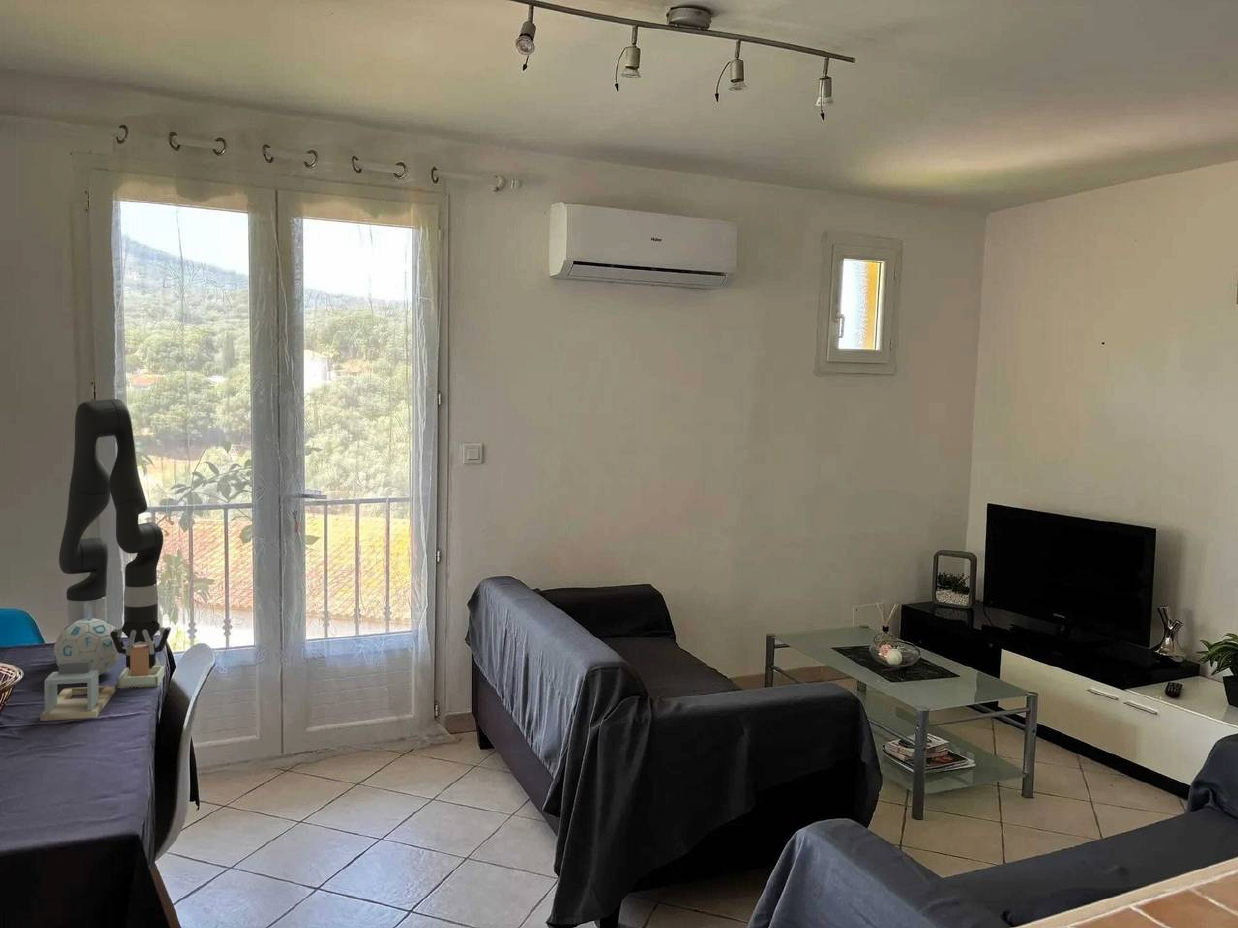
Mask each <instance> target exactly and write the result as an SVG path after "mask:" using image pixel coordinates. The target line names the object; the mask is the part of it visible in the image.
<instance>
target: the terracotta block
mask: <svg viewBox="0 0 1238 928" xmlns="http://www.w3.org/2000/svg"><path fill="white" fill-rule="evenodd" d="M149 654H150V653H149V648H148V647H147V645H146V644H144V645H139V644H135V646H133V648H132V649H130V677H134V676H148V675H149V674H150V672H151V671H152V669H149Z"/></svg>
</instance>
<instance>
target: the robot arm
mask: <svg viewBox="0 0 1238 928" xmlns="http://www.w3.org/2000/svg"><path fill="white" fill-rule="evenodd" d="M113 436H114V439H115V442H116V448H117V450H116V451H117V452H116V457H115V461H114V463H113V464H114V465H113V467H112V470H111V473H110V472H109V470H108V468H107V467H106V466H105V465H104V463H103V462H102V461H101V459H100V458H99V456H98V454H97V442H98V439H100V438H105V437H113ZM136 453H137V452H136V443H135V437H134V429H133V423H132V417H131V414H130V410H129V408H128V406H127V405H126V403H125V402H124V401H123V400H121V399H119V398H112V399H111V398H109V399H99V400H89V401H87V400H86V401H83V402H82V403H80V404H79V405H78V406H77V409H76V412H75V418H74V454H73V463H72V470H71V471H72V473H71V475H70V476H71V478H70V481H69V483H70V484H69V491H68V501H67V514H66V519H65V520H66V521H65V525H64V530H63V533H62V534H63V535H62V538H61V542H60V547H59V554H58V563H59V568H60V570H61V572H62V573H64V574H66V575H77V574H87V573H89V575H88V576H87V577H86V578H84V579H83V580H82V581H79V582H76V583H74V584H72V585H71V586H69V587H68V588H66V589H67V590H66V627H68V626H69V625H71V624H72V623H75V622H77V621H79V620H82V619H90V618H92V619H93V618H95V619H100V620H102V621H106V622H108V621H107V613H108V612H107V610H108V609H107V587H108V585H107V584H108V562H109V550H108V549H109V548H108V545H107V542H106V541H105V539H104V538H103V537H92V538H91V537H90V538H82V537H83V534H85V533H84V532H86V530H87V528H88V527H89V526H90V525H91V524H92V523H93V522H95V520H96V519H97V518H98V517H99V516H100V515H101V514H102V513H103V512H104V510H105V509H106V508H107V507H108V505H109V503H110V499H112V502H113V505H114V509H115V512H116V513H115V514H116V515H115V537H116V542H117V545H118V546H119V548H120V549H121V550H122V551H123V552H124V553H127V554H129V555H130V554H136V556H135V558H134V559H133V560H131V561H130V562H127V564H126V565H125V568H124V592H123V625H122V627H120V628H116V629H114V630H113V631H112V632H111V633H110V635H111V637H112V640H113V642H114V644H115V647H116V649H117V652H118V653H121V654H123V655H125V666H126V667H129V670H130V649H132V648H133V646H135V645H136V643H139V642H140V641H141V642H146V645H147V647H148V648H149V653H150V654H149V669H152V668H153V666H154V665H155V664H156V656H157V653H158V652H159V653H160V652H162V651H163V650H164V648H165V646H166V644H167V641H168V638H169V636H170V634H171V630H172V628H171V627H170V626H168V627H165V626H161V624H160V623H159V619H158V618H159V616H158V615H159V609H158V606H159V594H158V593H159V592H158V587H157V586H158V585H157V580H158V579H157V578H158V577H157V576H158V575H157V566H158V564H159V562H160V561H159V560H160V558H161V557H160V556H161V554H162V553H161V552H162V550H163V546H164V534H163V531H162V528H161V527H160V526H159V525H158V524H157V523H155V522H143V523H139V516H140V515H141V514H144V512H146V511H147V510H148V503H147V499H146V495H145V493H144V489H143V486H142V483H141V479H140V475H139V469H138V461H137V454H136ZM158 631H159V635H160V636H161V639H160V640H159V643H158V645H157V646H156V642H155V641H156V640H155V637H154V636H155V635H156V634H157V633H158ZM123 634H124V635H125V636H126V638H128V642H127V644H126V645H127V647H125V644H124V642H123V639H122V636H123ZM126 667H125V668H126Z"/></svg>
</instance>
